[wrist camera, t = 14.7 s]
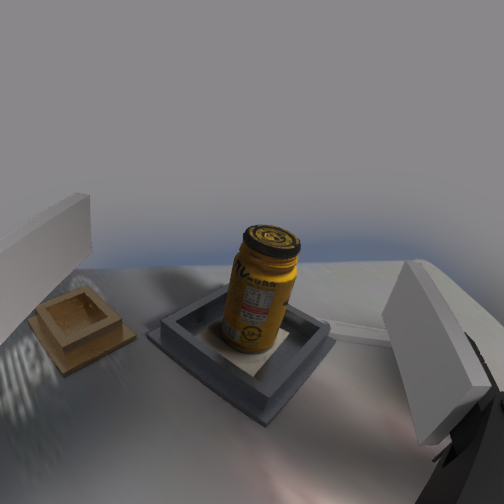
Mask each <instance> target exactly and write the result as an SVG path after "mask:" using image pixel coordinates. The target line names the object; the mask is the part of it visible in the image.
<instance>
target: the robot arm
mask: <svg viewBox="0 0 504 504" xmlns="http://www.w3.org/2000/svg"><path fill="white" fill-rule="evenodd" d="M91 253H92V242H91V223H90V195H86V194H80V193H74V194H73V195H71V196H69V197H67V198H66V199H64V200H62V201H60V202H59V203H57V204H55V205H53V206H52V207H50V208H48V209H46V210H45V211H43V212H42V213H40V214H38V215H36V216H35V217H33V218H32V219H30V220H28V221H27V222H25V223H24V224H22V225H21V226H19V227H18V228H16V229H14V230H13V231H11V232H10V233H8V234H7V235H5V236H4V237H2V238H1V239H0V346H1V344H2V343H3V342H4V341H5V340H6V339H7V338H8V337H9V336H10V334H11V333H12V332H13V331H14V330H15V329H16V328H17V327H18V326H19V325H20V323H21V322H22V321H23V320H24V319H25V318H26V317H27V316H28V315H29V314H30V313H31V312H32V311H33V310H34V309H35V308H36V307H37V306H38V305H39V304H40V303H41V302H42V300H43V299H44V298H45V297H46V296H47V295H48V294H49V293H50V292H51V291H52V290H53V289H54V288H55V287H57V286H58V285H59V284H60V283H61V282H62V281H63V280H64V279H65V278H66V277H67V276H68V275H69V274H70V273H71V272H72V271H73V270H74V269H75V268H76V267H77V266H78V265H80V264H81V263H82V262H83V261H84V260H85V259H86V258H87V257H88V256H89V255H90V254H91ZM382 317H383V320H384V323H385V326H386V329H387V332H388V335H389V338H390V341H391V345H392V348H393V351H394V354H395V357H396V361H397V364H398V367H399V371H400V374H401V378H402V381H403V385H404V388H405V392H406V396H407V399H408V403H409V407H410V411H411V415H412V419H413V423H414V427H415V431H416V436H417V440H418V444H419V445H436V444H439V443H440V442H441V441H442V440H443V439H444V438H445V437H446V436H447V435H448V434H449V433H450V436H451V440H452V442H451V443H450V444H449V445H448V446H447V447H446V448H445V449H444V450H443V451H441V452H440V453H439V454H438V455H437V456H436V457H435V458H434V459H433V460H432V461H433V462H436V461H437V460H438V459H439V458H441V459H440V460H439V462H438V464H437V466H436V468H435V470H434V472H433V474H432V475H431V477H430V479H429V481H428V482H427V484H426V486H425V488H424V489H423V491H422V493H421V494H420V496H419V498H418V499H417V501H416V502H415V504H504V392H502V391H501V392H500V391H499V388H498V386H497V384H496V382H495V380H494V378H493V376H492V374H491V372H490V370H489V368H488V366H487V364H486V363H484V362H485V361H484V359H483V357H482V355H480V351H479V349H478V348H477V346H476V344H475V342H474V341H473V340H472V339H471V338H470V337H469V336H468V335H467V334H466V333H465V332H463V330H462V328H461V326H460V325H459V323H458V321H457V319H456V318H455V316H454V314H453V313H452V311H451V309H450V308H449V306H448V304H447V303H446V301H445V299H444V298H443V296H442V295H441V293H440V291H439V290H438V288H437V287H436V285H435V284H434V282H433V280H432V279H431V277H430V276H429V274H428V273H427V271H426V270H425V268H424V267H423V265H422V264H421V263H418V262H414V261H409V260H405V262H404V265H403V267H402V270H401V272H400V274H399V277H398V279H397V281H396V284H395V286H394V288H393V291H392V293H391V295H390V297H389V300H388V302H387V304H386V306H385V308H384V310H383V312H382Z"/></svg>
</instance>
